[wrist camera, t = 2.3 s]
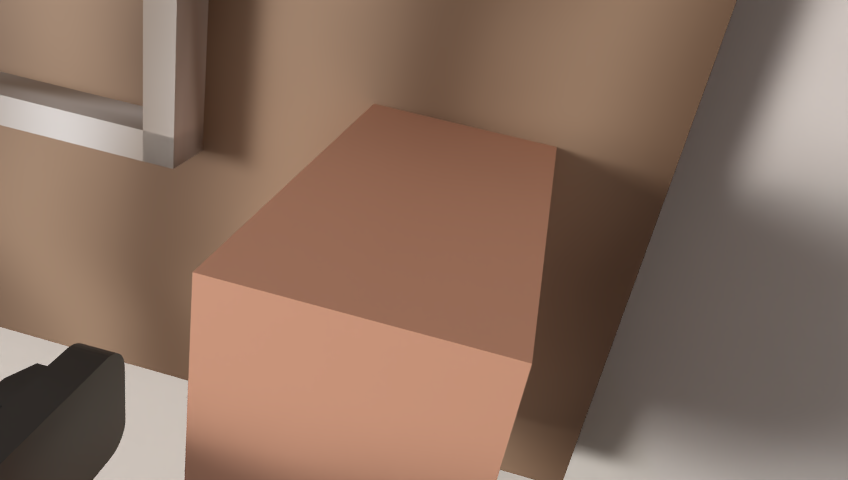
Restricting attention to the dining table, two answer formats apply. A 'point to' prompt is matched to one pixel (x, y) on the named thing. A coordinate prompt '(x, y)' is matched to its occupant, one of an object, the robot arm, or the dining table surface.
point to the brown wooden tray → (311, 134)
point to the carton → (374, 310)
